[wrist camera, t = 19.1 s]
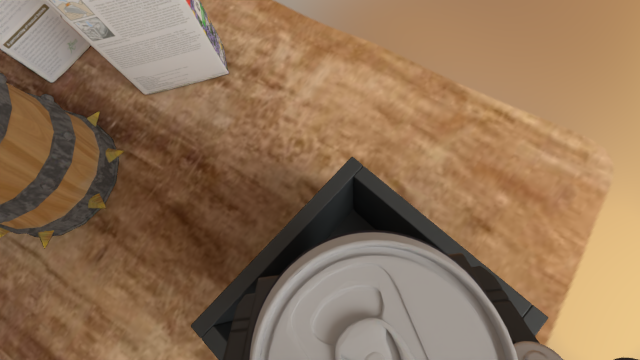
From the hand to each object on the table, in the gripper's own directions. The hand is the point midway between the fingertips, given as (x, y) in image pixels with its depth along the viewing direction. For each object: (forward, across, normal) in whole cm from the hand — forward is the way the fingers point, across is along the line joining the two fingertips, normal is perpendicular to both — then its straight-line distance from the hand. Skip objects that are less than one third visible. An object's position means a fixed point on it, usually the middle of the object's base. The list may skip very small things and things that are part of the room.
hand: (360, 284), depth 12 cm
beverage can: (+3, 0, +6) cm, 6 cm away
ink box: (+24, +13, -5) cm, 27 cm away
